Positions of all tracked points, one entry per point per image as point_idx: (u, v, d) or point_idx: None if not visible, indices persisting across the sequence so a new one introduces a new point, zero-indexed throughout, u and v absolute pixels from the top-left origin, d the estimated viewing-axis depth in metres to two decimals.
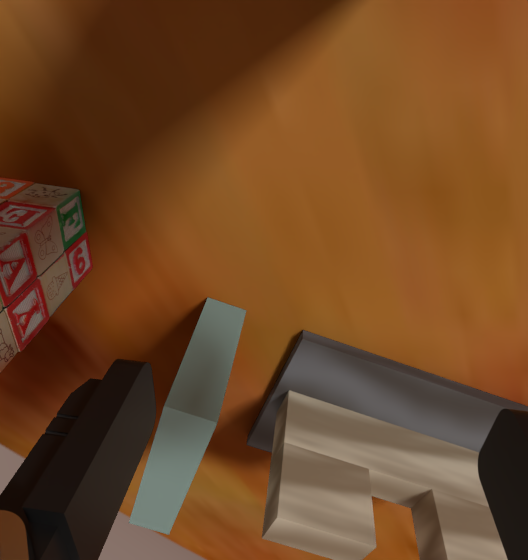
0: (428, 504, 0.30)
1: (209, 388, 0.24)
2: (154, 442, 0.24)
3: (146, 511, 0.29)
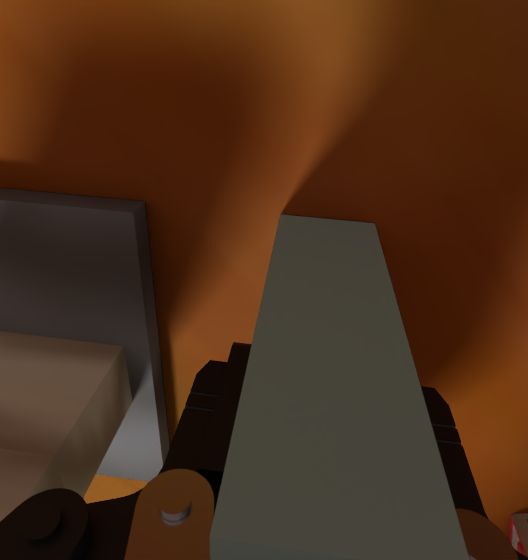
0: None
1: None
2: None
3: None
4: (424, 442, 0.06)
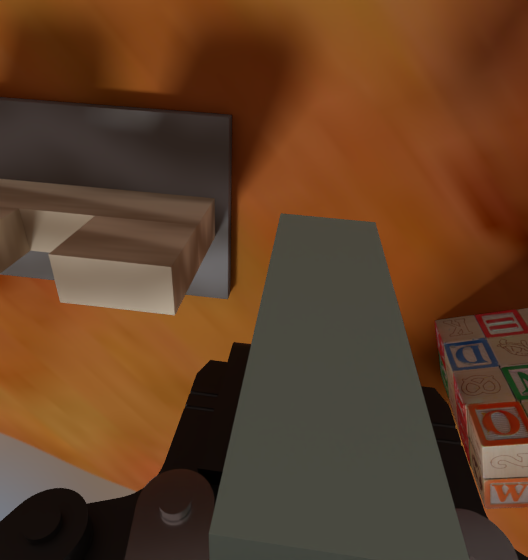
0: (20, 245, 0.27)
1: None
2: None
3: None
4: (424, 440, 0.06)
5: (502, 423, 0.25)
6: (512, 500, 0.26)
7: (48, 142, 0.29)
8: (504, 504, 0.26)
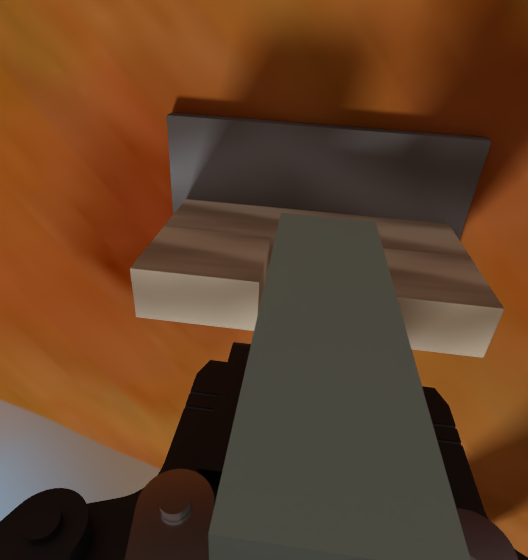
0: None
1: None
2: None
3: None
4: (424, 440, 0.06)
5: None
6: None
7: (278, 164, 0.27)
8: None
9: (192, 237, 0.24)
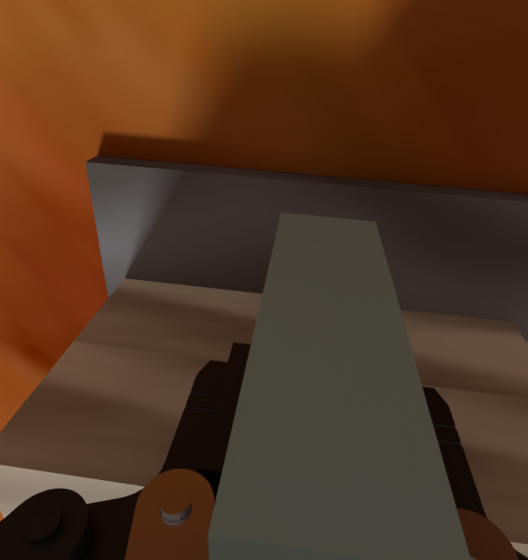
0: None
1: None
2: None
3: None
4: (425, 440, 0.06)
5: None
6: None
7: (258, 235, 0.18)
8: None
9: (113, 367, 0.15)
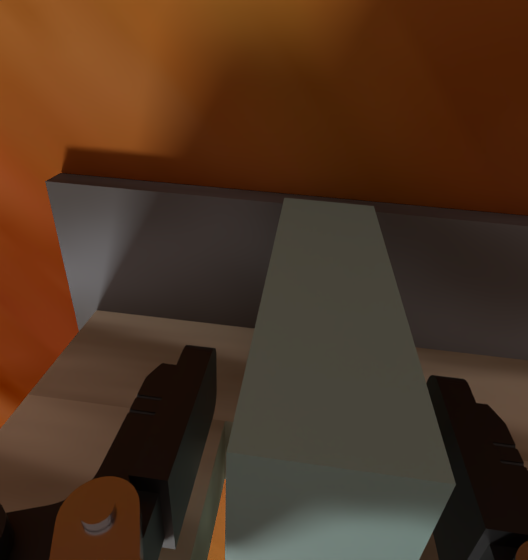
0: (220, 485, 0.14)
1: None
2: None
3: None
4: (415, 384, 0.07)
5: None
6: None
7: (246, 264, 0.16)
8: None
9: (71, 430, 0.12)
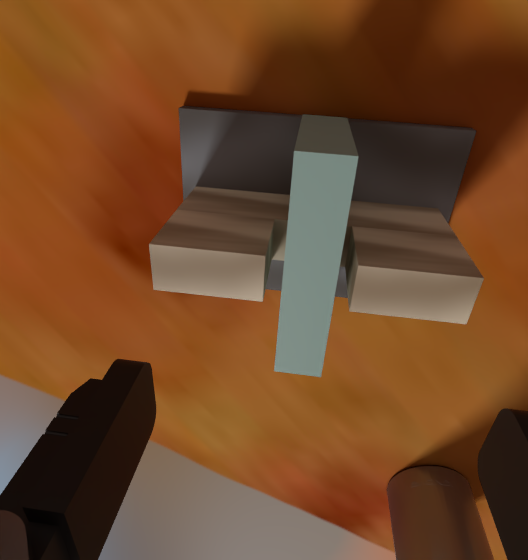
0: (271, 254, 0.27)
1: None
2: (326, 334, 0.25)
3: (331, 203, 0.21)
4: (352, 146, 0.21)
5: None
6: None
7: (281, 153, 0.30)
8: None
9: (203, 218, 0.26)
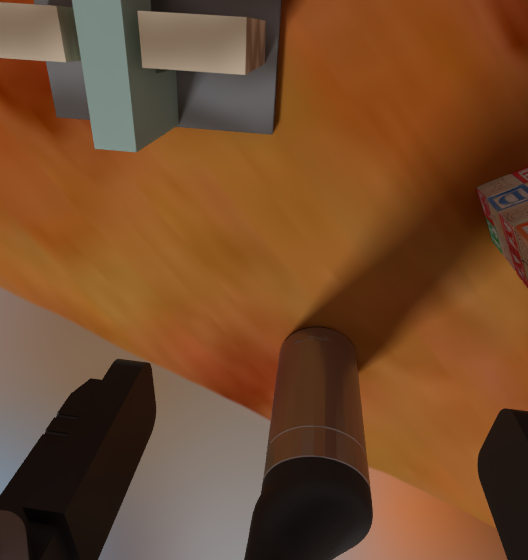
0: None
1: None
2: (129, 97, 0.27)
3: None
4: None
5: None
6: None
7: None
8: None
9: None
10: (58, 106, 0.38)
